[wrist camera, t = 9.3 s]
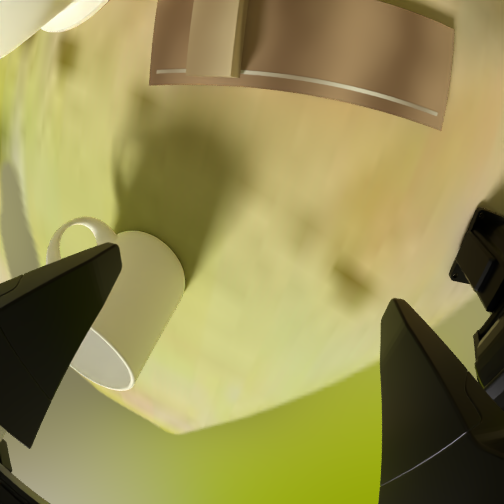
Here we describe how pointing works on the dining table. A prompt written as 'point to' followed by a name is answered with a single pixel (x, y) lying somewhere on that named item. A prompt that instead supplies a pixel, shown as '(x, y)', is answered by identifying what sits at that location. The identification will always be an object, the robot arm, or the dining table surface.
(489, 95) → the dining table surface
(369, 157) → the dining table surface
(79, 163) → the dining table surface
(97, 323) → the mug
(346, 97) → the board
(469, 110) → the dining table surface
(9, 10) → the decorative vase
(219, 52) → the beige box with knob
